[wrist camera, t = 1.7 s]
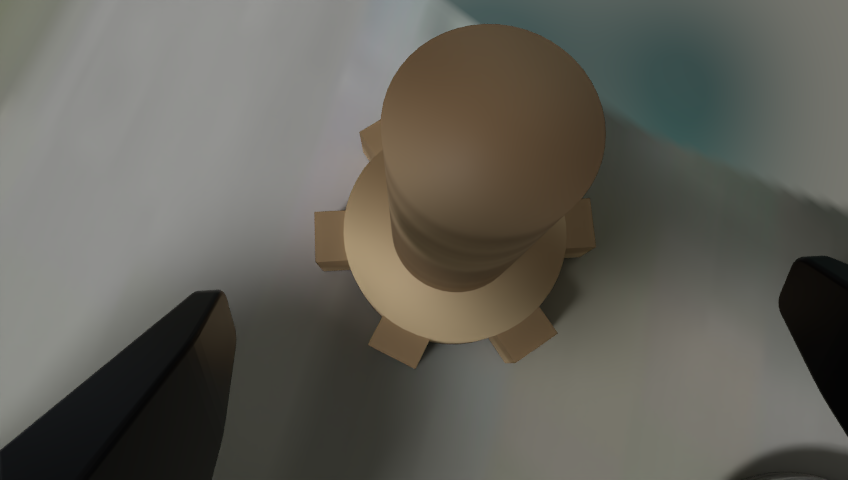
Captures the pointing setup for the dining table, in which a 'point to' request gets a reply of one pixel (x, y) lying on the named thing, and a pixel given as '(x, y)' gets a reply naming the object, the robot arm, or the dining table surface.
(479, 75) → the gear
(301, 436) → the dining table surface
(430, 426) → the dining table surface
